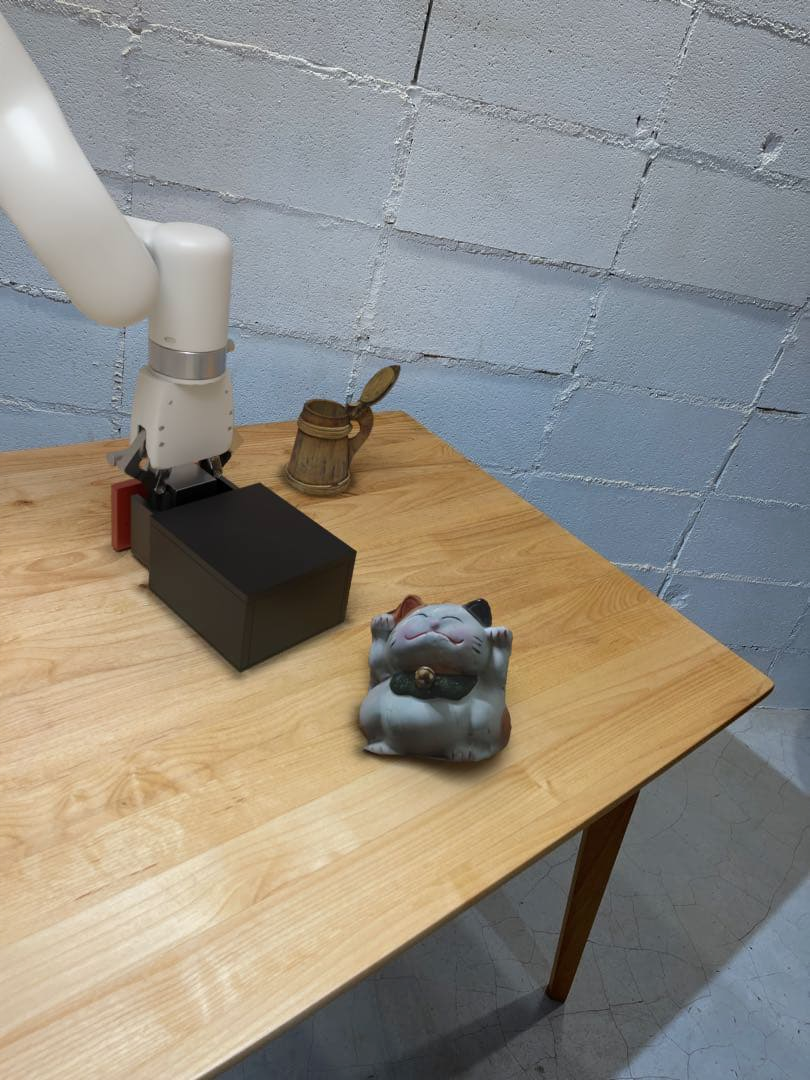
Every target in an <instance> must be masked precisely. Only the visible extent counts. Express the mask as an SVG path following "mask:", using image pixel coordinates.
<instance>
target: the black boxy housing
mask: <svg viewBox="0 0 810 1080" xmlns="http://www.w3.org/2000/svg"><path fill="white" fill-rule="evenodd" d="M357 554H358V550H356V549H355V548H353V547H352V546H350V544H347V543H346V542H345V541H343V540H342V539H340V538H339V537H338V536H336V535H335V534H333V533H332V532H330V530H328V529H326V528H325V527H324V526H322V525H321V524H320V523H318V522H316V521H315V520H314V519H312V518H311V517H310V516H308V515H307V514H306V513H304V512H303V511H301V510H300V509H298V508H297V507H296V506H294V505H292V503H290V502H289V501H287V500H285V499H284V498H283V497H282V496H280V495H279V494H277V493H276V492H275V491H273V490H271V489H270V488H269V487H268V486H266V485H265V484H263V483H261V482H260V481H259V482H255V483H253V484H249V485H246V486H242V487H239V489H235V490H232V491H229V492H225V493H222V494H219V495H215V496H212V497H209V498H205V499H202V500H199V501H195V502H192V503H189V504H185V505H182V506H179V507H175V508H172V509H169V510H165V511H162V512H158V513H155V514H152V515H150V543H149V568H148V590H149V591H150V592H151V593H152V594H153V595H154V596H155V597H156V598H157V599H158V600H159V601H161V602H162V603H163V604H164V605H165V606H166V607H167V608H168V609H170V611H171V612H173V614H174V615H176V617H178V618H179V619H180V620H181V621H183V623H185V624H186V626H188V627H189V628H190V629H191V630H193V632H195V634H196V635H198V636H199V637H200V638H201V639H202V640H203V641H204V642H206V644H207V645H208V646H210V647H211V648H212V649H213V650H214V651H215V652H216V653H217V654H219V656H221V658H223V659H224V660H225V661H226V662H227V663H228V664H229V665H231V667H233V668H234V669H235V670H236V671H237V672H238V673H239V674H241V673H243V672H245V671H248V670H249V669H251V668H254V667H256V666H257V665H260V664H262V663H264V662H265V661H268V660H271V659H272V658H275V657H276V656H278V655H280V654H282V653H284V652H286V651H288V650H290V649H292V648H294V647H296V646H298V645H301V644H302V643H304V642H306V641H309V640H311V639H312V638H314V637H317V636H319V635H321V634H323V633H325V632H327V631H329V630H331V629H333V628H335V627H337V626H339V625H341V624H343V623H344V622H345V619H346V614H347V609H348V604H349V597H350V592H351V586H352V582H353V576H354V569H355V564H356V559H357Z"/></svg>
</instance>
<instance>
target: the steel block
mask: <svg viewBox="0 0 810 1080" xmlns="http://www.w3.org/2000/svg"><path fill="white" fill-rule="evenodd" d="M195 463H196V462H192V463H188V464H184V465H180V466H177V467H173V468H172V471H171V474H170V477H169V480H168V484H167V487H166V490H167V491H168V492H169V493H170V509H172V508H175V507H179V506H182V505H185V504H189V503H192V502H195V501H199V500H202V499H205V498H209V497H212V496H215V489H216V479H215V478H214V477H213V476H211V475H210V474H209V473H207V472H206V471H204V470H203V469H202V468H200V467H199V466H198V465H196V464H195ZM157 473H158V470H157V472H156V475H155V478H156V477H157Z"/></svg>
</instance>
